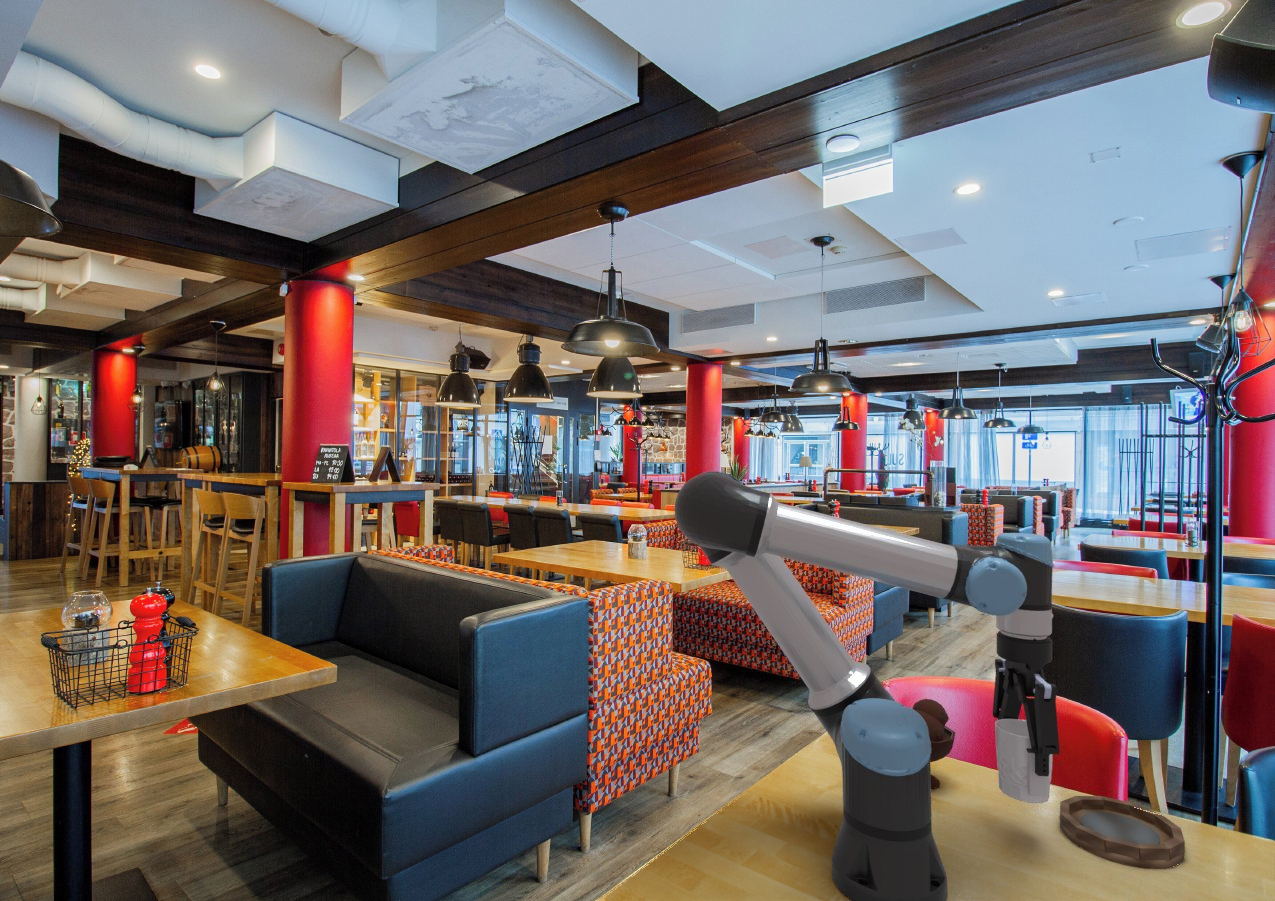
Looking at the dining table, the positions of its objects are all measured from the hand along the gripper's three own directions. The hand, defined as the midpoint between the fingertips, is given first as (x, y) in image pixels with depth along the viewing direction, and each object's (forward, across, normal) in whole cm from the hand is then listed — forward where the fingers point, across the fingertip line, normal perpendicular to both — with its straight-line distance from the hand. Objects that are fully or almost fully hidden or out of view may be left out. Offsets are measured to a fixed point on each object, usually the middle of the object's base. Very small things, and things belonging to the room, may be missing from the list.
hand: (1023, 781), depth 104 cm
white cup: (+2, 0, 0) cm, 2 cm away
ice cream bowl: (+9, +19, +8) cm, 23 cm away
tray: (+9, +1, -15) cm, 17 cm away
